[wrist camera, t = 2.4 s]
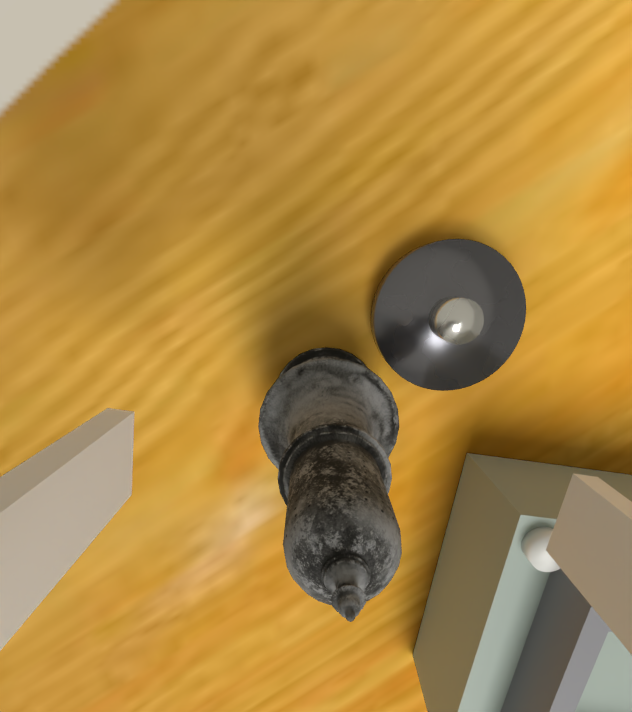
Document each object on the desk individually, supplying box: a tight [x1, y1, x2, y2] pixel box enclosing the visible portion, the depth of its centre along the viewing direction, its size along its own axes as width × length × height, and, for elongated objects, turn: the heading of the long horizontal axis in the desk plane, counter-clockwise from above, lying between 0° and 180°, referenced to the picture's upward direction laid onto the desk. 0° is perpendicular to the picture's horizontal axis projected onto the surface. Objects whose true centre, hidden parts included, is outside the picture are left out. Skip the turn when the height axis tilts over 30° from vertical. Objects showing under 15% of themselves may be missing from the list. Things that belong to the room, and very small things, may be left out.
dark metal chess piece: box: [258, 347, 402, 622], centre depth 12 cm, size 6×6×12 cm
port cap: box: [371, 239, 526, 390], centre depth 16 cm, size 7×7×2 cm
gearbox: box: [413, 453, 632, 712], centre depth 18 cm, size 14×16×7 cm
